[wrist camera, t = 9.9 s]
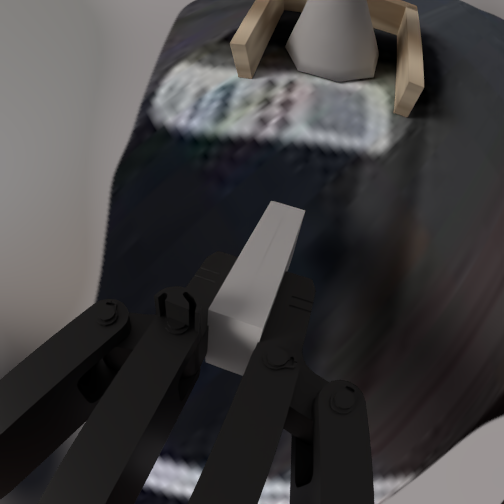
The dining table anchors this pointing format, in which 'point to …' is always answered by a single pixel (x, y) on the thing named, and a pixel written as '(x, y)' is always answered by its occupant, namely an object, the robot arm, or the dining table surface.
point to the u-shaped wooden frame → (382, 17)
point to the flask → (334, 40)
